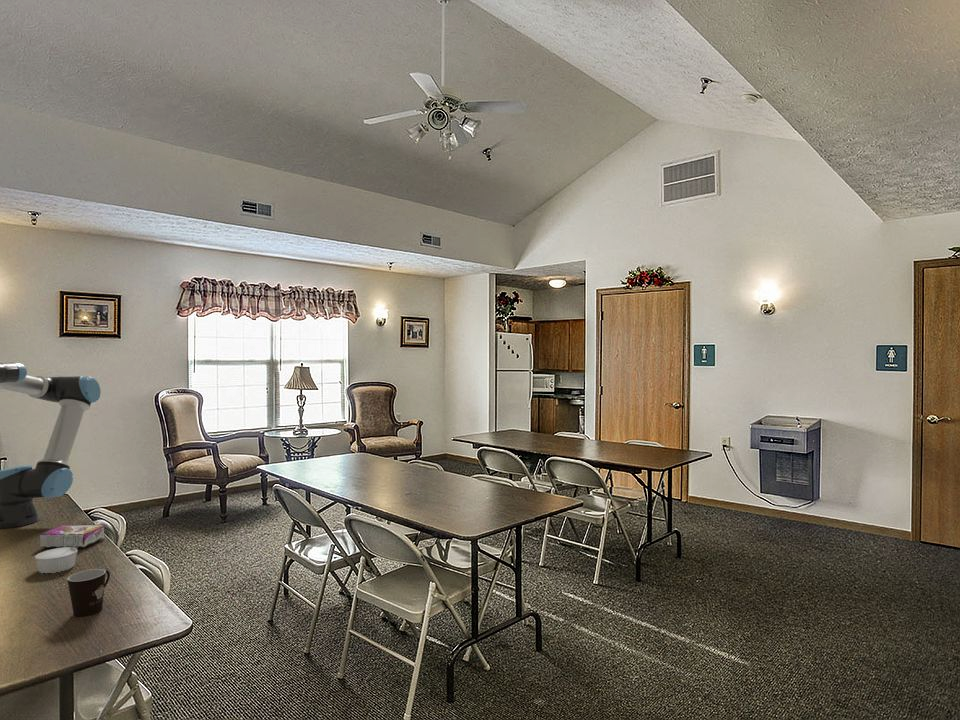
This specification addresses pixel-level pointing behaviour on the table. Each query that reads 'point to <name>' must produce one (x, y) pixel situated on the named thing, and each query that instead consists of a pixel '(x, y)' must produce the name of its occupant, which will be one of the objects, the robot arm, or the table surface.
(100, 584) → the coffee mug
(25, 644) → the table surface
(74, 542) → the candy bar box
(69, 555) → the ramekin
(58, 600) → the table surface
